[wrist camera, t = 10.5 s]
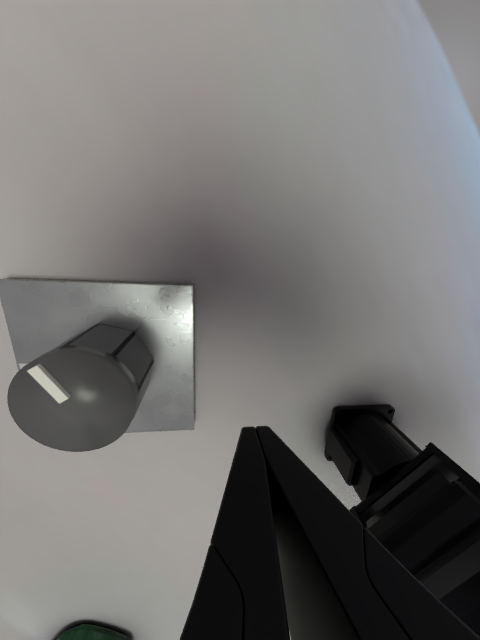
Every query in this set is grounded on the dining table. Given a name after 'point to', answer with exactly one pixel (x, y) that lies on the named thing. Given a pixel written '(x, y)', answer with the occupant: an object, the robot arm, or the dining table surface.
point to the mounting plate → (121, 312)
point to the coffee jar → (90, 633)
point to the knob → (82, 389)
